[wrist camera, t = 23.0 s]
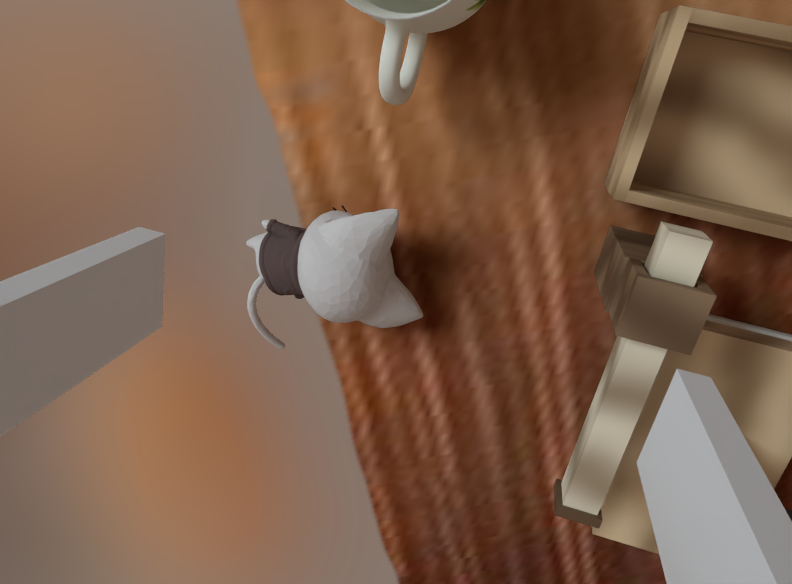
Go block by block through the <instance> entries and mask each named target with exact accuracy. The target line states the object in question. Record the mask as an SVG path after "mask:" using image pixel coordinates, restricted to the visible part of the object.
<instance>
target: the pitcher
mask: <svg viewBox="0 0 792 584" xmlns="http://www.w3.org/2000/svg"><path fill="white" fill-rule="evenodd" d="M345 1H346V2H348V3H349V4H350V5H352V6H353V7H355V8H357V9H358V10H360V11H362V12H364V13H367V14H368V15H369V16H371V17H372V18H373V19H375V20H376V21H378V22H380V23H382V24H383V25H385V26H386V32H385V36H384V41H383V45H382V51H381V57H380V65H379V87H380V92H381V96H382V97H383V99H384V100H385V101H386V102H387V103H389V104H393V105H401V104H403V103H405V102H406V101H408V99H409V98H410V96H411V94H412V92H413V89H414V87H415V84H416V81H417V78H418V74H419V71H420V67H421V63H422V59H423V54H424V50H425V45H426V40H427V35H428V33H434V32H439V31H443V30H446V29H449V28H452V27H454V26H456V25H458V24H460V23H462V22H464V21H465V20H466V19H468V18H469V17H471V16H472V15H473V14H474V13H476V12H477V11H478V10H479V9H480V8H481V7H482V6H483V5H484V4H485V2H486V1H487V0H345ZM408 33H410V34H409V40H408V45H407V50H406V54H405V58H404V62H403V65H402V68H401V71H400V64H401V57H402V52H403V47H404V43H405V39H406V37H407V35H408Z"/></svg>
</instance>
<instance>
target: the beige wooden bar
mask: <svg viewBox="0 0 792 584" xmlns="http://www.w3.org/2000/svg"><path fill="white" fill-rule="evenodd" d="M712 243H713V241H712V240H711V239H710V238H709V237H708V236H707V235H706V234H705V233H704V232H703V231H700V230H695V229H691V228H687V227H683V226H679V225H674V224H670V223H666V222H662V221H661V223H660V226H659V228H658V231H657V234H656V236H655V239H654V242H653V244H652V247H651V249H650V252H649V255H648V257H647V260H646V263H645V265H644V268H645V270H646V272H647V274H648V276H652V277H656V278H660V279H664V280H667V281H671V282H675V283H679V284H683V285H687V286H691V287H694V286H695V283H696V281H697V279H698V276H699V274H700V272H701V269H702V267H703V265H704V262H705V260H706V257H707V255H708V253H709V250H710V248H711V246H712ZM667 350H668V349H664V348H660V347H657V346H653V345H649V344H645V343H641V342H638V341H634V340H630V339H626V338H623V337H619V336H617V338H616V341H615V344H614V346H613V349H612V352H611V354H610V357H609V359H608V362H607V365H606V367H605V370H604V373H603V375H602V378H601V380H600V383H599V386H598V388H597V391H596V394H595V396H594V399H593V401H592V404H591V407H590V409H589V412H588V414H587V417H586V420H585V422H584V425H583V428H582V430H581V433H580V435H579V438H578V441H577V443H576V446H575V449H574V451H573V454H572V456H571V459H570V462H569V464H568V467H567V469H566V472H565V475H564V477H563V480H560V479H556V482H555V484H554V508H555V515H556V516H559V517H563V518H566V519H569V520H572V521H575V522H579V523H582V524H585V525H588V526H592V527H595V528H598V529H599V528H600V526H601V523H602V521H603V519H602V512H601V506H602V503H603V501H604V499H605V496H606V494H607V491H608V489H609V487H610V484H611V482H612V480H613V477H614V475H615V473H616V470H617V468H618V465H619V463H620V461H621V458H622V456H623V454H624V451H625V449H626V447H627V444H628V442H629V439H630V437H631V435H632V432H633V430H634V428H635V425H636V423H637V421H638V418H639V416H640V413H641V411H642V409H643V406H644V404H645V402H646V399H647V397H648V395H649V392H650V390H651V387H652V385H653V383H654V380H655V378H656V376H657V373H658V371H659V369H660V366H661V364H662V361H663V359H664V357H665V354H666V352H667Z"/></svg>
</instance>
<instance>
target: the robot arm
mask: <svg viewBox="0 0 792 584" xmlns="http://www.w3.org/2000/svg"><path fill="white" fill-rule="evenodd" d="M164 256H165V234H164V233H160V232H156V231H153V230H149V229H145V228H141V227H137V228H135V229H133V230H130V231H128V232H125V233H122V234H120V235H117V236H115V237H112V238H110V239H107V240H104V241H102V242H100V243H97V244H95V245H92V246H89V247H87V248H84V249H82V250H79V251H77V252H74V253H72V254H69V255H66V256H64V257H62V258H59V259H56V260H54V261H51V262H49V263H46V264H44V265H41V266H39V267H36V268H33V269H31V270H28V271H26V272H23V273H21V274H18V275H16V276H13V277H11V278H8V279H6V280H3V281H0V437H1V436H2V435H4V434H5V433H7V432H8V431H10V430H11V429H13V428H14V427H16V426H17V425H18V424H20V423H22V422H23V421H24V420H26V419H27V418H29V417H30V416H32V415H33V414H35V413H36V412H37V411H39V410H40V409H42V408H43V407H45V406H46V405H48V404H49V403H51V402H52V401H54V400H55V399H56V398H58V397H59V396H61V395H62V394H64V393H65V392H67V391H68V390H69V389H71V388H73V387H74V386H76V385H77V384H79V383H80V382H81V381H83V380H84V379H86V378H87V377H89V376H90V375H92V374H93V373H95V372H96V371H98V370H99V369H101V368H102V367H103V366H105V365H106V364H108V363H109V362H111V361H112V360H114V359H115V358H117V357H118V356H119V355H121V354H123V353H124V352H125V351H127V350H128V349H130V348H131V347H133V346H134V345H136V344H137V343H138V342H140V341H141V340H143V339H144V338H146V337H147V336H149V335H150V334H152V333H153V332H154V331H156V330H158V329H159V328H160V327H162V314H163V285H164V284H163V283H164ZM637 467H638V471H639V475H640V479H641V483H642V487H643V491H644V495H645V499H646V503H647V507H648V511H649V515H650V518H651V522H652V526H653V530H654V534H655V538H656V542H657V546H658V550H659V554H660V558H661V562H662V566H663V570H664V574H665V578H666V582H667V584H792V511H791V510H788V509H784V507H783V505H782V503H781V501H780V500H779V498H778V496H777V494H776V493H775V491H774V489H773V487H772V485H771V484H770V482H769V480H768V478H767V477H766V475H765V473H764V471H763V469H762V468H761V466H760V464H759V462H758V460H757V459H756V457H755V455H754V453H753V452H752V450H751V448H750V446H749V444H748V443H747V441H746V439H745V437H744V436H743V434H742V432H741V430H740V428H739V427H738V425H737V423H736V421H735V420H734V418H733V416H732V414H731V412H730V411H729V409H728V407H727V405H726V403H725V402H724V400H723V398H722V396H721V395H720V393H719V391H718V389H717V387H716V386H715V384H714V382H713V380H712V379H711V377H707V376H704V375H700V374H696V373H692V372H688V371H685V370H681V369H676V372H675V374H674V376H673V379H672V381H671V383H670V386H669V388H668V390H667V393H666V395H665V397H664V400H663V402H662V404H661V407H660V409H659V411H658V414H657V416H656V418H655V421H654V423H653V425H652V428H651V430H650V432H649V435H648V437H647V439H646V442H645V444H644V446H643V449H642V451H641V453H640V456H639V458H638V460H637Z"/></svg>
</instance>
